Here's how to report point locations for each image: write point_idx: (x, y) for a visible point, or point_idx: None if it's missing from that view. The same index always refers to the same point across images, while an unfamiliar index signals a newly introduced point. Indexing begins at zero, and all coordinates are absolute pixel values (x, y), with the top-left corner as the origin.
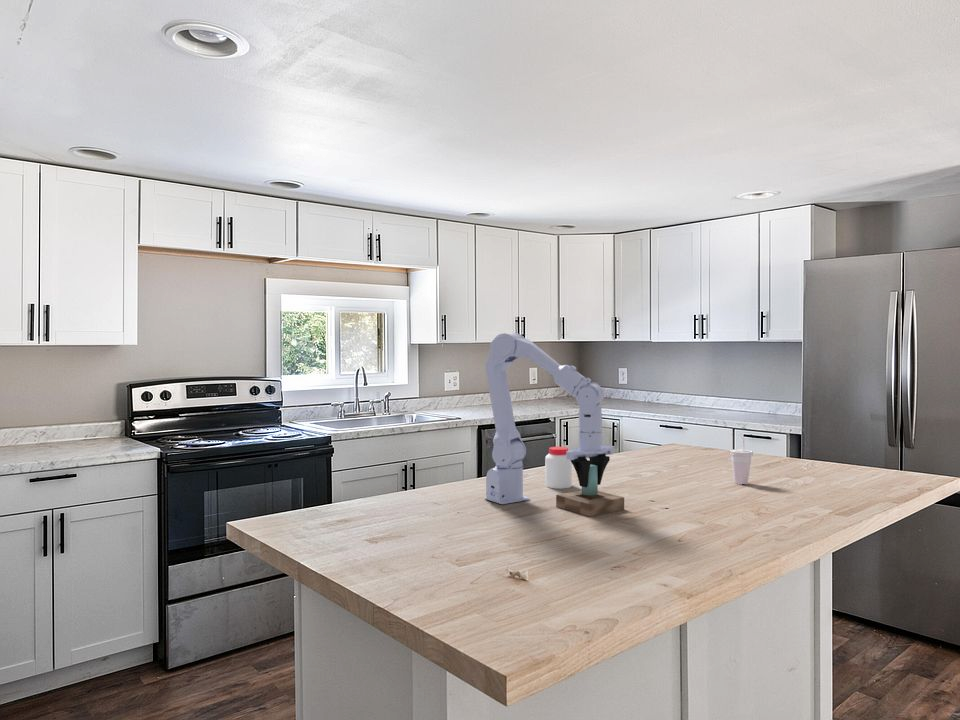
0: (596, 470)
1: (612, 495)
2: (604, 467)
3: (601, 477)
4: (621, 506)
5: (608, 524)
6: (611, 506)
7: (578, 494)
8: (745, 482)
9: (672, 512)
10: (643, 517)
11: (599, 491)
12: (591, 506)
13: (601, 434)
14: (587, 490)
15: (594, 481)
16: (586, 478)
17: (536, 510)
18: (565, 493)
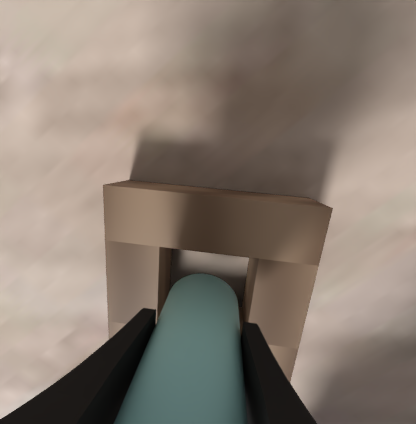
0: (159, 403)
1: (119, 241)
2: (46, 402)
3: (123, 333)
4: (137, 182)
5: (358, 70)
6: (191, 189)
7: None
8: None
9: (7, 19)
10: (160, 47)
11: (112, 315)
12: (315, 204)
13: None
14: (236, 309)
15: (203, 323)
16: (274, 365)
17: (363, 359)
18: None
